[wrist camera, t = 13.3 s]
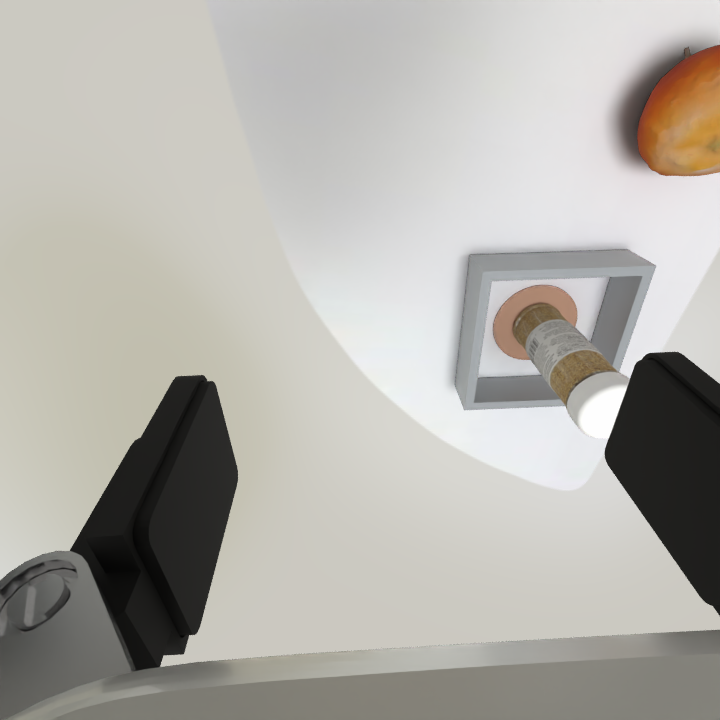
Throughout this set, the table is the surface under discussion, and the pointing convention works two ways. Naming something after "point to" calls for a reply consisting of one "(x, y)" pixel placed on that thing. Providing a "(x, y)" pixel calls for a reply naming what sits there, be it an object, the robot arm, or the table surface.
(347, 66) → the table surface
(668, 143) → the fruit
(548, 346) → the sprinkles bottle
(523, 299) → the grey square tray
